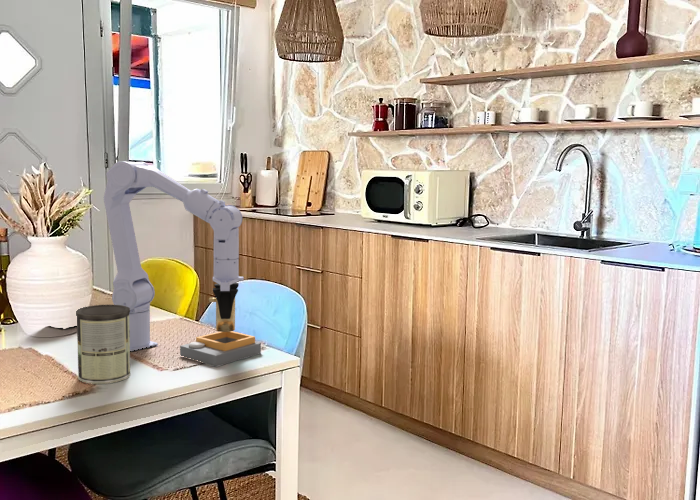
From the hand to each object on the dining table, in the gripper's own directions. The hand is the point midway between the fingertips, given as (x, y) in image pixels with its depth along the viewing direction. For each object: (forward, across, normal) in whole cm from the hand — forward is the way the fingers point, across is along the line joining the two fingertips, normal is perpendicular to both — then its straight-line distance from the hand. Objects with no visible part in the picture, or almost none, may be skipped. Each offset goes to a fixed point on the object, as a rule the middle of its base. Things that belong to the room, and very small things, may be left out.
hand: (225, 316), depth 154 cm
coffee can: (+9, -16, +24) cm, 30 cm away
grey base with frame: (+9, -1, +1) cm, 9 cm away
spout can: (+3, 0, 0) cm, 3 cm away
